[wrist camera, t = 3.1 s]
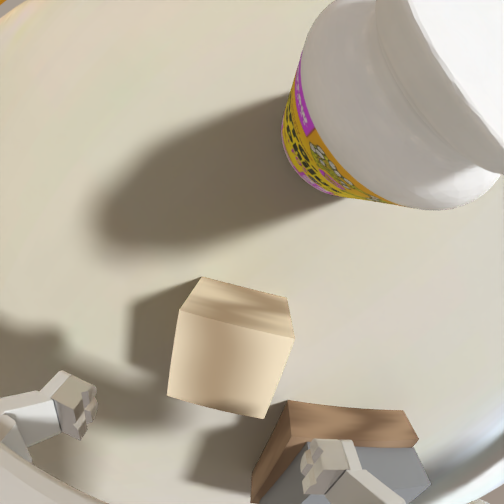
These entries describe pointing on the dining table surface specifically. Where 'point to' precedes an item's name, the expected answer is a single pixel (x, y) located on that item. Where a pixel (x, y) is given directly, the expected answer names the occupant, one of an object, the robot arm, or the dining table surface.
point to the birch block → (230, 348)
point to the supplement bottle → (400, 102)
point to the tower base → (326, 436)
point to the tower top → (372, 459)
